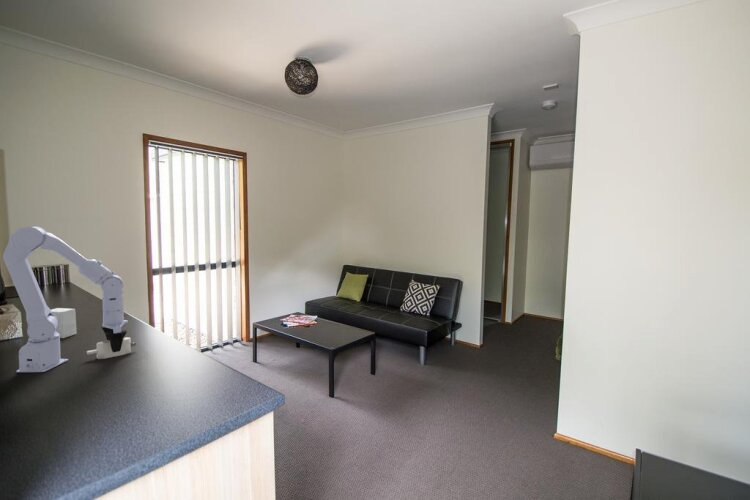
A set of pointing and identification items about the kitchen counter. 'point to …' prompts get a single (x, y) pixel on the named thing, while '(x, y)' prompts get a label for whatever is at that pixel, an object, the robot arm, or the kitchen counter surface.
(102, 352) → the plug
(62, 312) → the small box
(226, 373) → the kitchen counter surface
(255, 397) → the kitchen counter surface
